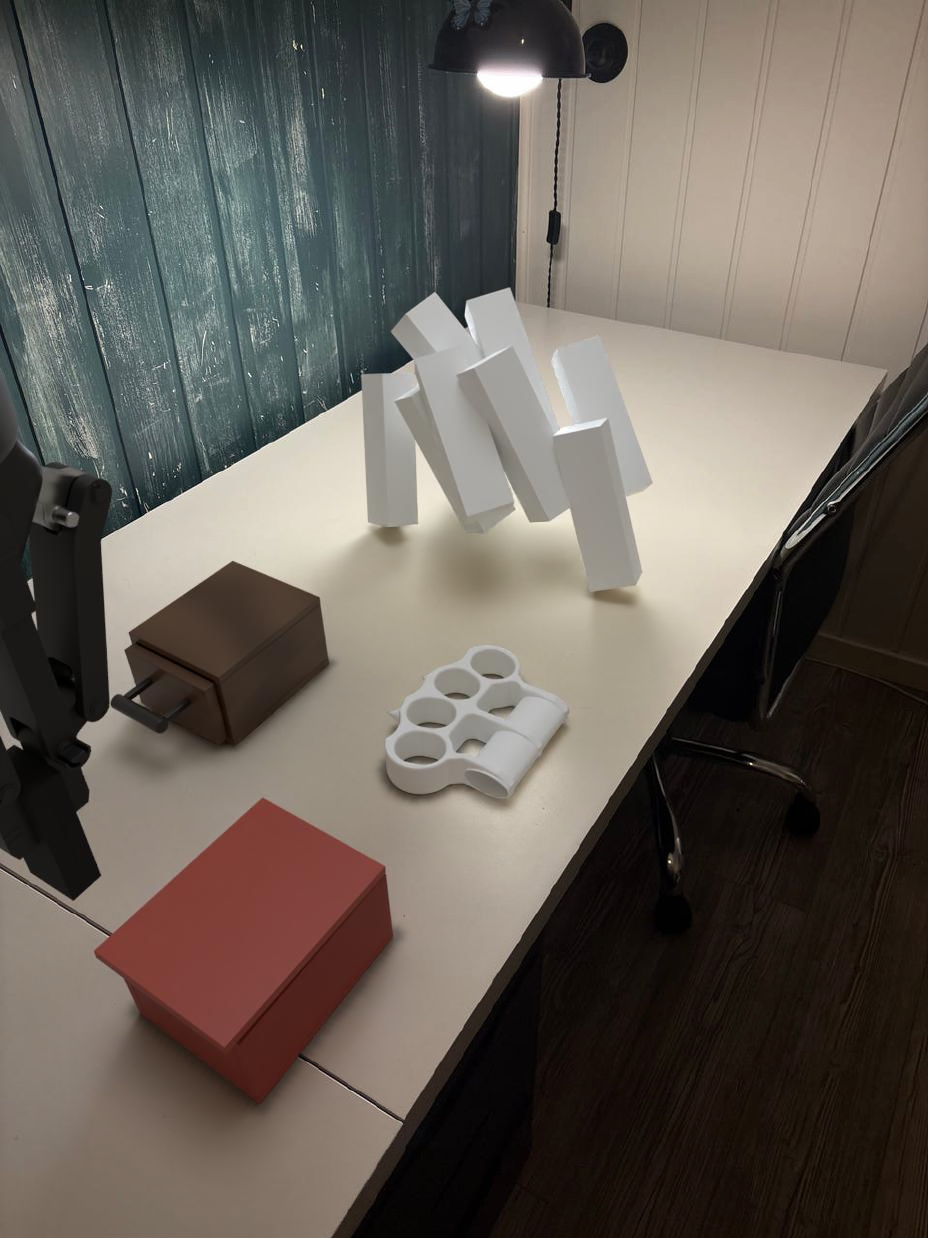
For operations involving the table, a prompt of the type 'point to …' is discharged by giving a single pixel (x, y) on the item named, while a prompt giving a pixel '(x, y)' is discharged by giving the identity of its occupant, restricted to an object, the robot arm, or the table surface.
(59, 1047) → the table surface
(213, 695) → the drawer
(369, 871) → the lid
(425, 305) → the pile of blocks
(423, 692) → the white brass knuckles
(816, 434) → the table surface
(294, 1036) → the chest
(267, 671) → the cabinet
